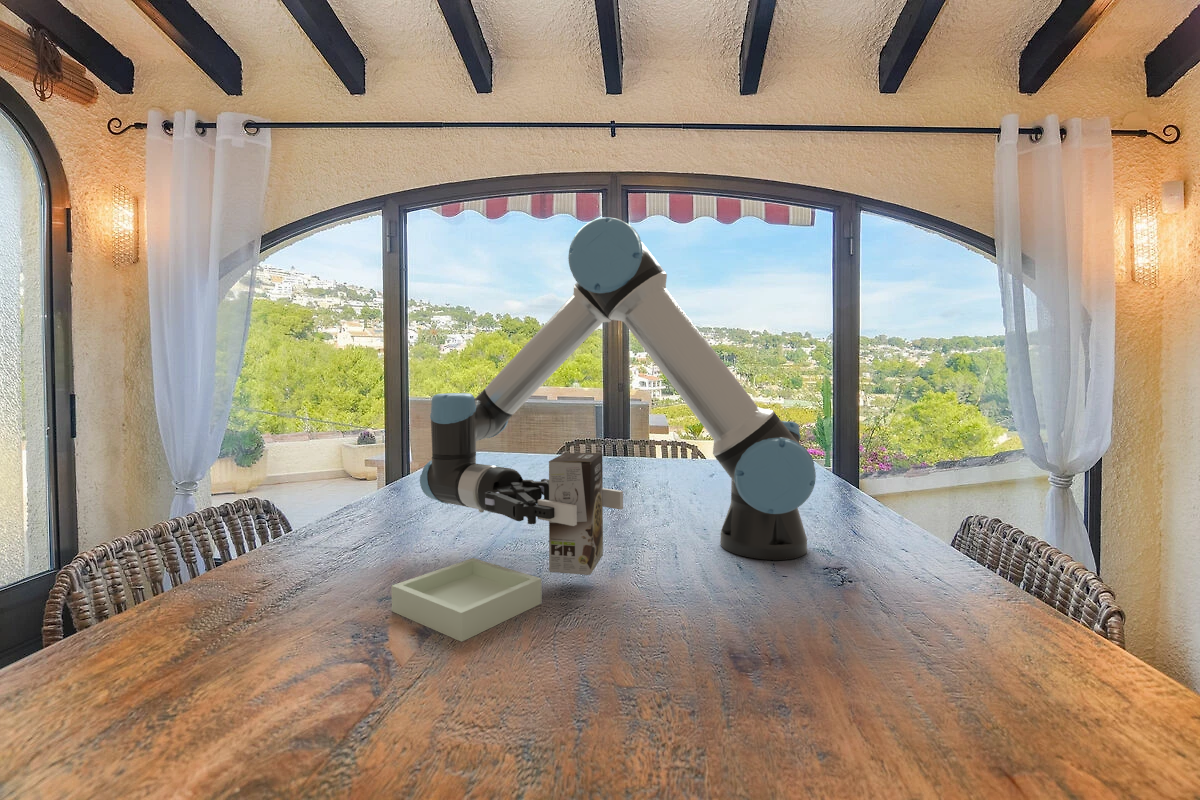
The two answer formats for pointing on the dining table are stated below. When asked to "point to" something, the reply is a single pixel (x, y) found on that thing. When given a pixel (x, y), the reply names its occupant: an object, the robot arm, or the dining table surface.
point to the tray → (466, 597)
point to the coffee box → (581, 486)
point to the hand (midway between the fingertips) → (599, 507)
